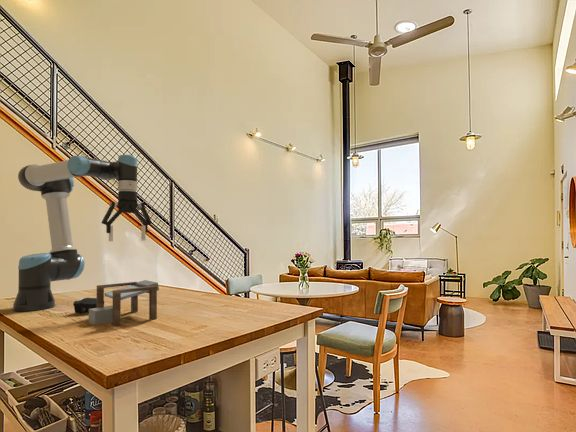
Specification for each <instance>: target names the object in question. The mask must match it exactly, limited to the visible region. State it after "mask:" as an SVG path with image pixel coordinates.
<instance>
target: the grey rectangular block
mask: <svg viewBox="0 0 576 432" xmlns="http://www.w3.org/2000/svg"><path fill="white" fill-rule="evenodd" d="M112 321H113V305H106V306H105V305H104V307H99V308H92V309H89V313H88V323H89V322H90V323H89V324H91V323H92V325H93V324H94V326H98V324H99V325H103V323H104V324H108V323H109V322H110V323H112Z"/></svg>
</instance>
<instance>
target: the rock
mask: <svg viewBox="0 0 576 432" xmlns="http://www.w3.org/2000/svg"><path fill="white" fill-rule="evenodd" d="M96 304H97V297H85V298H82V299H79V300H75V301H73V304H72V305H73V307H74V309H73V310H74V313H75V314H77V313H78V314H88V313H87V312H89V309H92V308H96Z"/></svg>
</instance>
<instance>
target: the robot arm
mask: <svg viewBox="0 0 576 432" xmlns="http://www.w3.org/2000/svg"><path fill="white" fill-rule="evenodd" d="M82 177H92V178H99V179H100V180H103V181H110V180H118V181H117V182H118V183H117V190H118V192H117V197H118V198H117V202H115V201H111V202H109V208H107V209H108V210H107V211H106V213H105V214H104V216H103V218H102V221H101V224H102V225H106V228H105V229H106V230H105V232H106V234H108V242H114V236H113V235H114V225H112V224H113V223H114V222H115V221H116V220H117V219H118V218H119V216H120V215H121V214H133V215H134V216H135V218H137V219H138V221H139V222H140V223H141V224H142V225H141V227H140V229H141V232H140V233H141V239H140V240H141V241H146V233H148V226H149V225H151V224H153V222H152V219H151V218H150V215H149V213H148V211H147V210H146V205H145V203H144V202H141V203H138V192H137V191H138V157H137V156H134V155H132V154H120V155H118V158H117V160H116V161H107V160H101V159H96V158H93V157H87V156H84V155H72V156H70V158H69V159H68V160H62V161H56V162H51V163H46V164H42V165H39V164H36V163H35V164H28V165H25V166H23V167H22V168H21V169H20V170H19V171H18V174H17V178H18V179H17V180H18V181H19V184H20V185H21V186H22V187H23V188H25V189H27V190H30V191H34V192H40V194H41V195H40V196H41V198H42V199H44V200H45V204H46V213H47V221H48V229H49V237H50V244H51V250H50V251H49V252H40V253H34V254H33V253H32V254H27V255H24V256H21V257H20V259H19V260H18V266H17V268H18V269H17V270H18V287H17V288H18V291H17V294H16V296H15V300H14V302H13V305H12V311H14V312H31V311H42V310H46V309H50V308H53V307H55V306H56V300H55V298H54V297H55V296H54V295H53V292H52V290H51V283H52V282H56V281H57V282H58V281H65V280H66V281H69V280H71V279H77V278H78V277H80V276H81V274H82V272H83V271H84V269H85V263H86V262H85V259H84V257H83V255H81V254H80V253H78V248H76V247H74V245H73V238H72V237H73V236H72V231H71V223H70V215H69V207H68V200H67V199H68V197H70V194H71V192H72V191H73V189H74V186H75V183H74V182H75V181H74V178H82ZM116 207H117V208H118V209H117V210H116V212H115V213H114V214H113V215H112V213H113V212H114V209H115V208H116ZM137 208H139V209H140V212H141V213H140V212H139V210H138V209H137ZM111 215H112V216H111ZM110 217H111V218H110Z"/></svg>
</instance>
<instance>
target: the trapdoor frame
mask: <svg viewBox="0 0 576 432" xmlns="http://www.w3.org/2000/svg"><path fill="white" fill-rule="evenodd" d="M137 282H138V281H129V282H120V283H109V284H108V283H107V284H100V285H99V284H98V285H96V298H97V304H96V308H99V307H105V300H104V299H105V298H104V297H105V294H104V293H105V289H109V288H117V287H129V286H132V285H134V286H136V283H137ZM145 290H149V293H148V296H149V298H148V300H149V303H148V306H149V307H148V314H149V315H148V319H149V320H152V321H153V320H157V319H158V317H157V316H158V315H157V314H158V313H157V312H158V304H157V302H158V291H157V286H148V287H140V288H131V289H122V290H118V289H116V290H115V289H113V290H112V291H113V299H112V306H113V321H112V322H111V323H112V324H111V325H112V326H113V327H119V326H121V324H122V323H121V314H122V312H121V308H122V307H121V304H122V302H121V301H122V300H121V293H128V292H136V291H145ZM138 302H139V295H136V296H133V297H130V313H137V312H139V303H138ZM118 325H119V326H118Z"/></svg>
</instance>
